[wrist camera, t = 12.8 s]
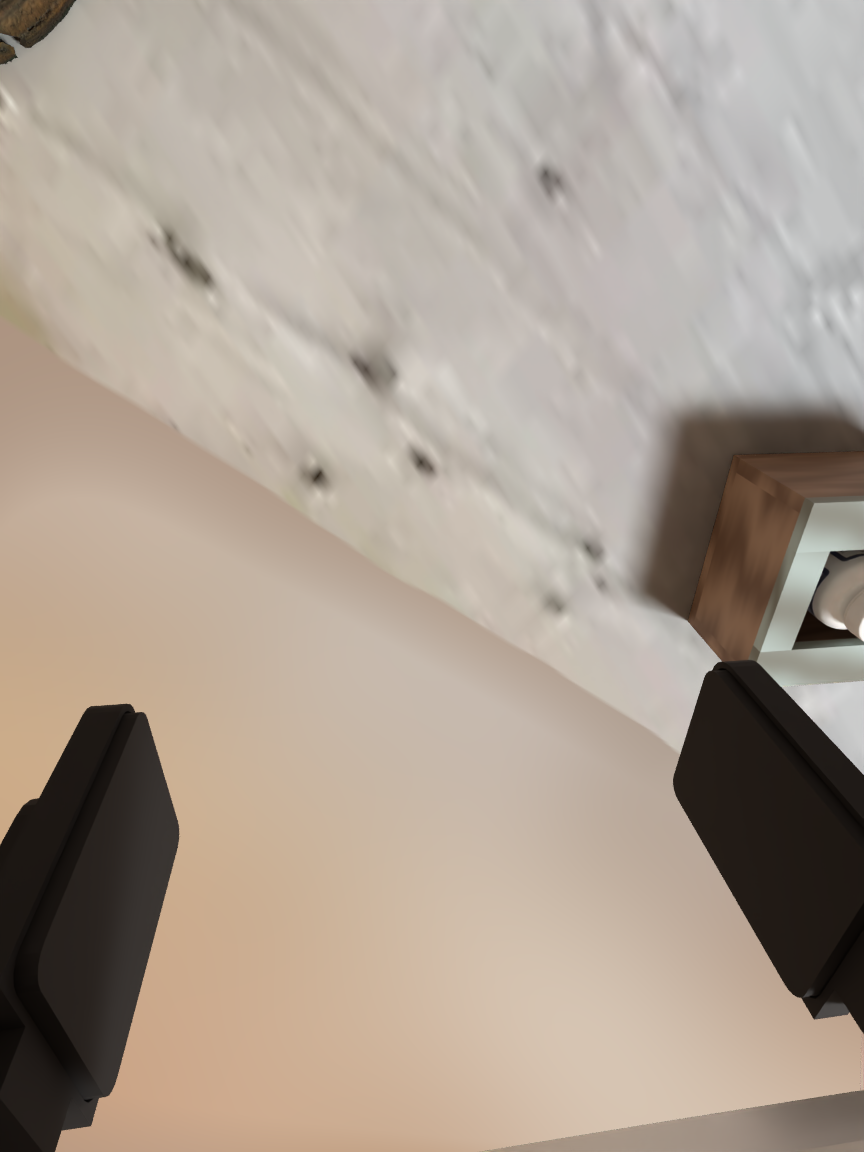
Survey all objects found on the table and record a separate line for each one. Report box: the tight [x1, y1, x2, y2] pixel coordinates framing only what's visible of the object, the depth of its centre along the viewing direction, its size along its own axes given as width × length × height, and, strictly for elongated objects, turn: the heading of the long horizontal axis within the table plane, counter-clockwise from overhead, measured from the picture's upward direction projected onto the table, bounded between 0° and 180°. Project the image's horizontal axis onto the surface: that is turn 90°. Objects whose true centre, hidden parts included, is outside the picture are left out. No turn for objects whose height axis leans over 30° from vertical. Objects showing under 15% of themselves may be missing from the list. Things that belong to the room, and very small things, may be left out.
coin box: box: [688, 451, 864, 687], centre depth 43 cm, size 14×12×8 cm
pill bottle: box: [807, 550, 864, 642], centre depth 41 cm, size 5×5×10 cm
